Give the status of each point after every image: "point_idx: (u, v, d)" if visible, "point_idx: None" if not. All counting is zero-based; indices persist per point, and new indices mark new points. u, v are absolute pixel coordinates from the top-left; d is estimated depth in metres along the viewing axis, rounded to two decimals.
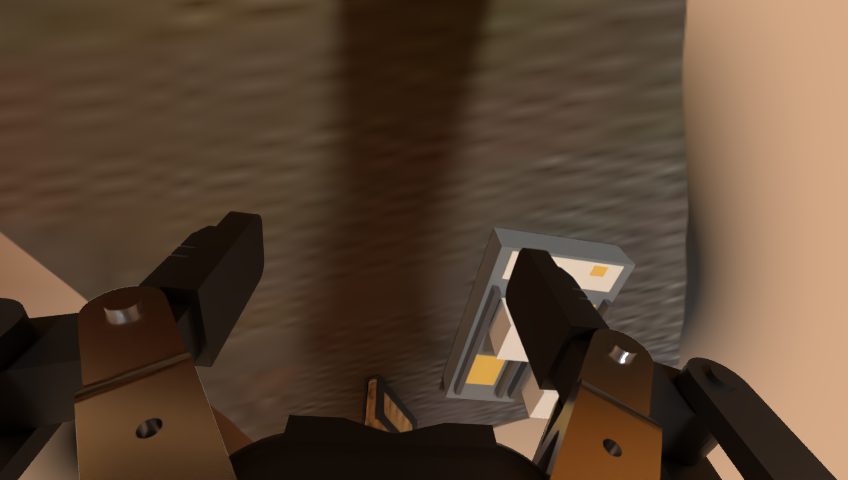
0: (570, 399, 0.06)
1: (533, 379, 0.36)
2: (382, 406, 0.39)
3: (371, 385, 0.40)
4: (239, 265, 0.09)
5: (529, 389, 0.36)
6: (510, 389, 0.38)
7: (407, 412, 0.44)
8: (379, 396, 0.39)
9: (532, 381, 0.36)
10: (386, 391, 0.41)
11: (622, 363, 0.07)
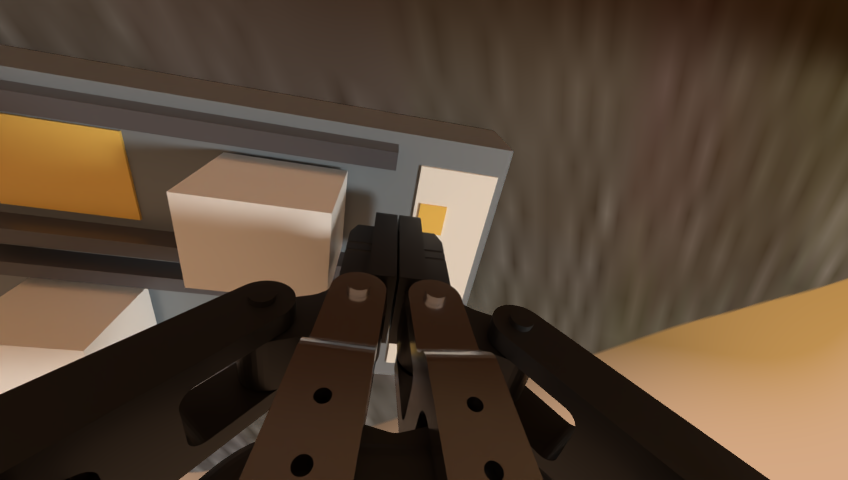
0: (419, 372, 0.06)
1: (98, 303, 0.13)
2: None
3: None
4: None
5: (51, 304, 0.13)
6: (12, 253, 0.13)
7: None
8: None
9: (90, 302, 0.13)
10: None
11: (425, 306, 0.07)
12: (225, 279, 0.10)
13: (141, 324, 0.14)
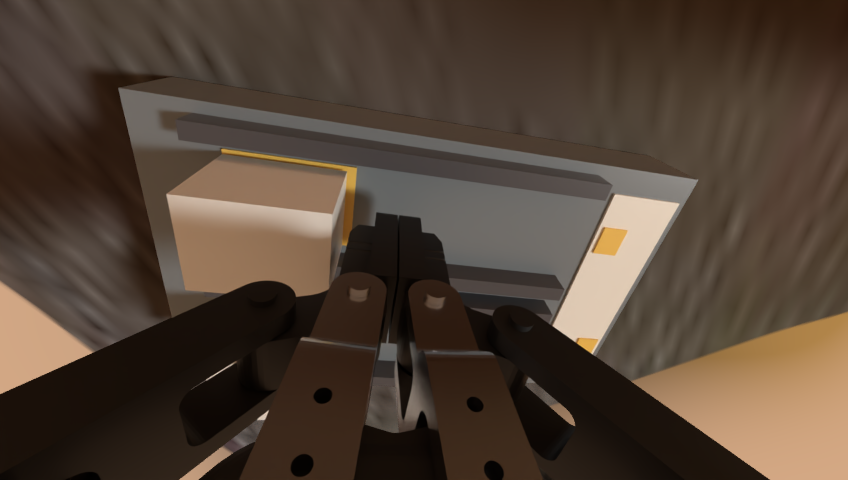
0: (418, 372, 0.06)
1: None
2: None
3: None
4: None
5: None
6: None
7: None
8: None
9: None
10: None
11: (425, 306, 0.07)
12: (226, 281, 0.10)
13: None
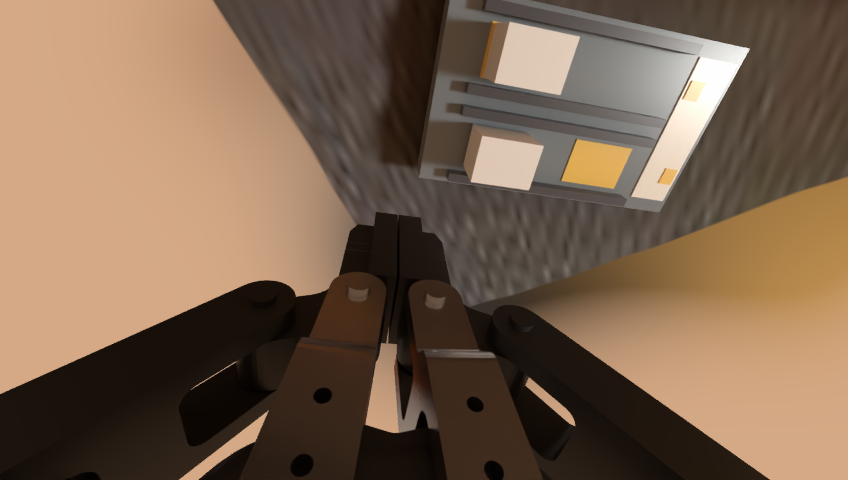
0: (418, 373, 0.06)
1: (519, 134, 0.24)
2: None
3: None
4: None
5: (501, 132, 0.24)
6: (475, 107, 0.24)
7: None
8: None
9: (515, 134, 0.24)
10: None
11: (425, 306, 0.07)
12: (515, 78, 0.20)
13: None
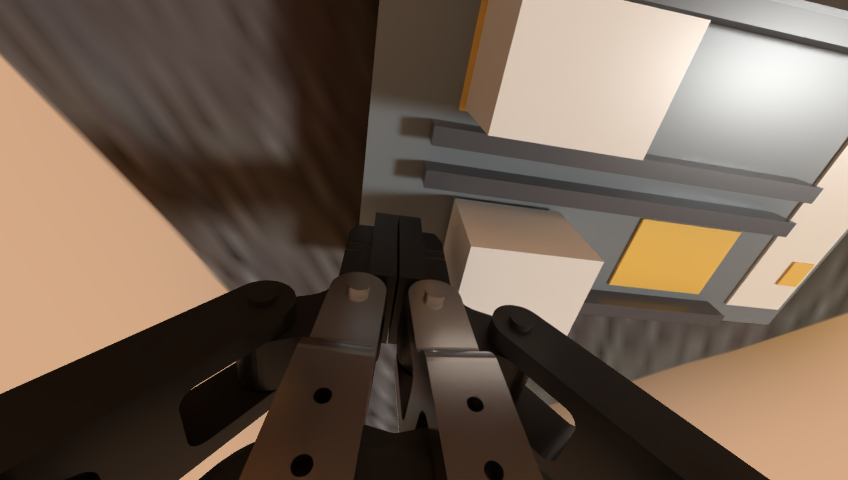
0: (419, 372, 0.06)
1: (546, 223, 0.12)
2: None
3: None
4: None
5: (511, 221, 0.12)
6: (450, 168, 0.12)
7: None
8: None
9: (539, 222, 0.12)
10: None
11: (425, 306, 0.07)
12: (539, 123, 0.08)
13: None
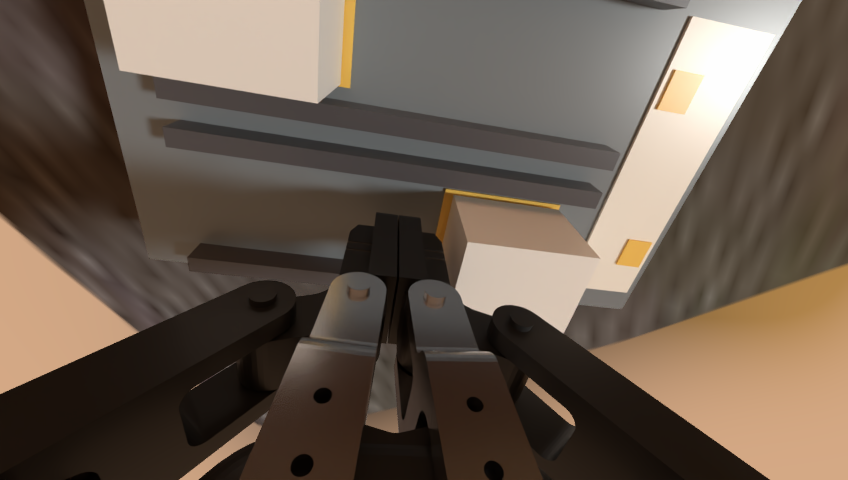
0: (418, 373, 0.06)
1: (544, 220, 0.12)
2: None
3: None
4: None
5: (509, 219, 0.12)
6: (201, 127, 0.11)
7: None
8: None
9: (537, 219, 0.12)
10: None
11: (425, 306, 0.07)
12: (175, 57, 0.07)
13: None
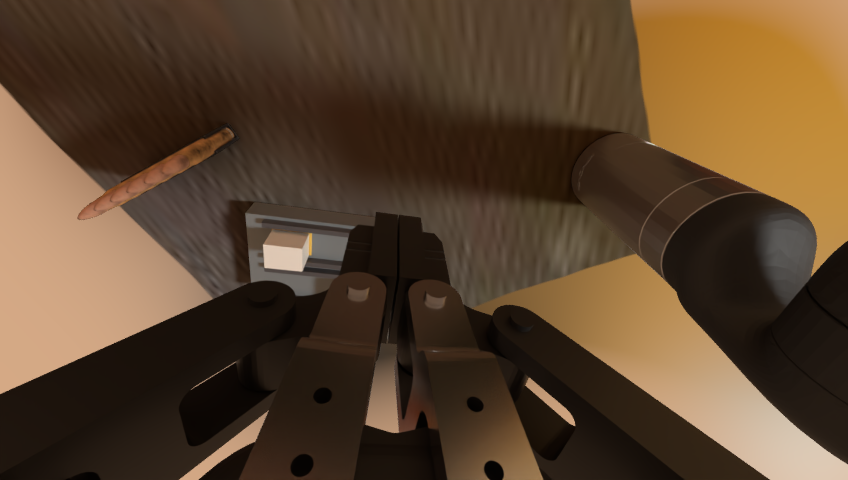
0: (419, 372, 0.06)
1: None
2: None
3: (228, 132, 0.37)
4: None
5: None
6: None
7: None
8: (227, 146, 0.36)
9: None
10: None
11: (425, 306, 0.07)
12: (275, 265, 0.39)
13: None
